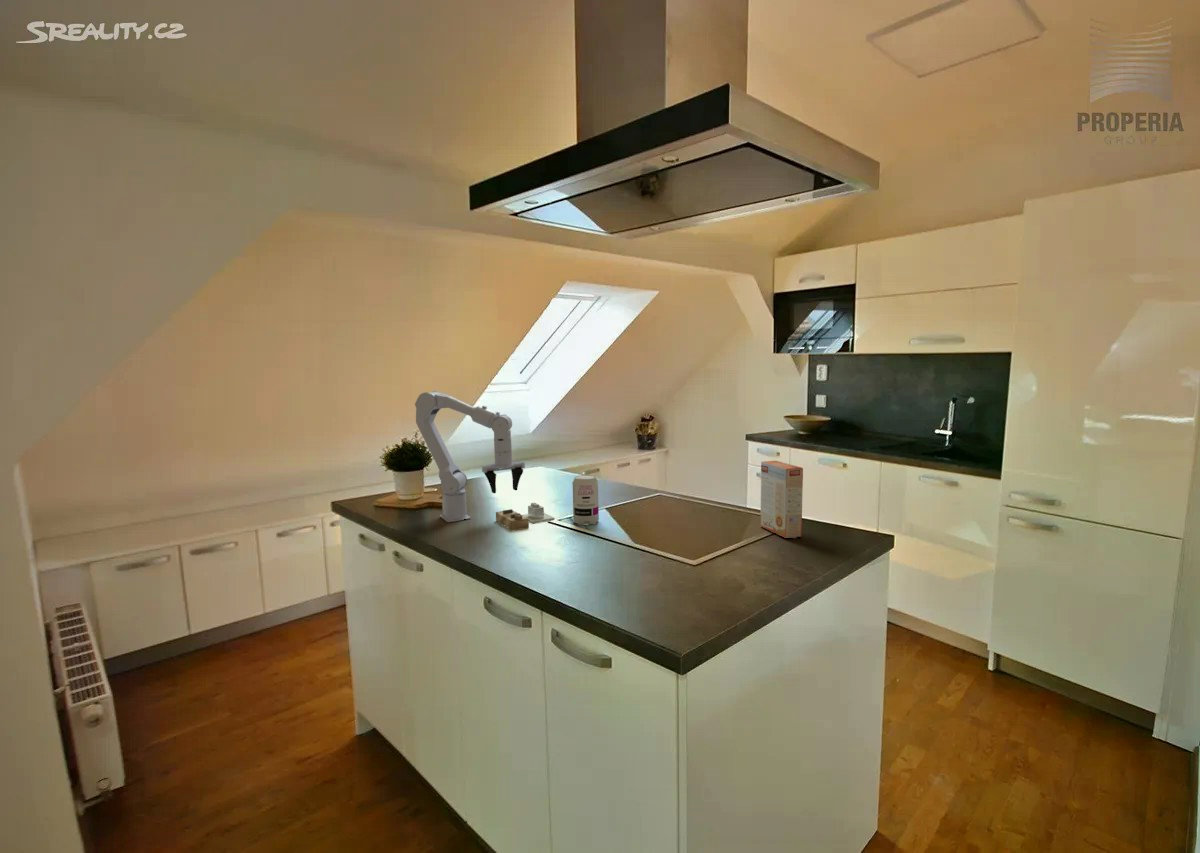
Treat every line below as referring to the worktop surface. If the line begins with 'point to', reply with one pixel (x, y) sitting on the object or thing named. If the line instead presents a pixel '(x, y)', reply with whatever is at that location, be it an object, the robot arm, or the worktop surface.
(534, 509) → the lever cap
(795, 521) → the cracker box
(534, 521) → the rubber mat
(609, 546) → the worktop surface
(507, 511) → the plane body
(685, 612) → the worktop surface
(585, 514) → the supplement can
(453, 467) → the robot arm
